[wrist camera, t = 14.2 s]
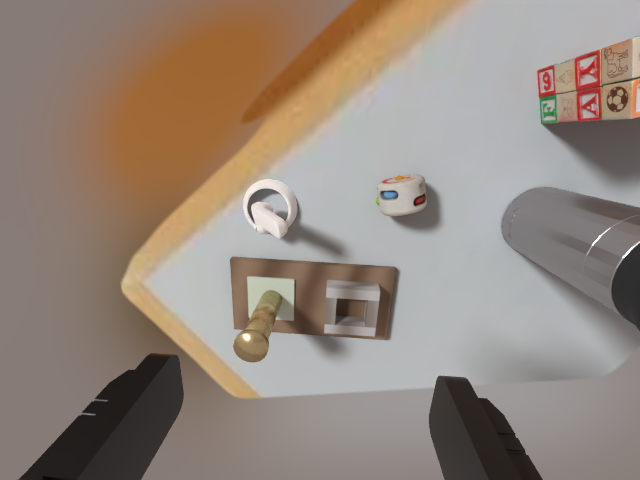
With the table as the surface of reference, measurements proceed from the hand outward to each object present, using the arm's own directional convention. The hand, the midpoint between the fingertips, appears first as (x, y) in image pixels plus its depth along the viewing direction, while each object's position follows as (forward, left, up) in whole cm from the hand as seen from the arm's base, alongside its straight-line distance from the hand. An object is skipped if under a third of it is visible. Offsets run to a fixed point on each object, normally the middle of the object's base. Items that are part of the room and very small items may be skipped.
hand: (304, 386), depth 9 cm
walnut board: (+2, +16, -33) cm, 37 cm away
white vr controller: (+8, +2, -33) cm, 34 cm away
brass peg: (+8, +16, -32) cm, 36 cm away
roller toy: (-9, -1, -33) cm, 35 cm away
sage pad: (+8, +16, -32) cm, 37 cm away
